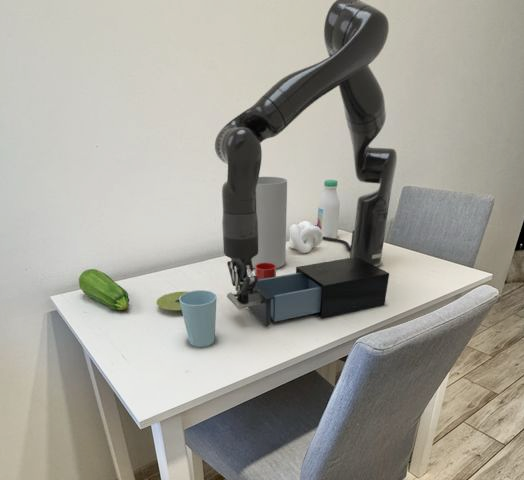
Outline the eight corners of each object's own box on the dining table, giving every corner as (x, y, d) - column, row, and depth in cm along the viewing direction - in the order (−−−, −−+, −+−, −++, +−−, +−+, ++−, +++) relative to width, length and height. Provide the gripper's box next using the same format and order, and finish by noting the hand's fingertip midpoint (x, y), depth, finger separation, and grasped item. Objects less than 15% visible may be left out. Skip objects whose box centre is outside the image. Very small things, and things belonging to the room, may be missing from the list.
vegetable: (89, 260, 113) (127, 281, 101) (105, 279, 118) (143, 301, 106) (68, 278, 111) (104, 302, 98) (85, 297, 116) (122, 321, 104)
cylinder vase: (261, 254, 142) (260, 175, 129) (292, 262, 136) (295, 179, 123) (238, 265, 133) (234, 181, 120) (270, 273, 127) (270, 185, 114)
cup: (177, 339, 93) (172, 296, 87) (206, 329, 97) (203, 287, 92) (196, 353, 88) (191, 308, 83) (226, 341, 92) (223, 298, 87)
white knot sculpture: (310, 257, 139) (311, 230, 134) (278, 251, 144) (279, 225, 140) (325, 248, 147) (327, 222, 142) (295, 243, 153) (295, 218, 148)
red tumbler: (252, 292, 115) (251, 264, 111) (270, 289, 117) (270, 261, 113) (260, 300, 111) (260, 271, 107) (278, 296, 113) (279, 267, 108)
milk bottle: (339, 235, 161) (344, 179, 150) (333, 241, 155) (338, 183, 144) (320, 233, 163) (323, 178, 153) (313, 238, 157) (317, 181, 147)
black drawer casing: (321, 319, 101) (323, 285, 97) (294, 297, 112) (296, 266, 107) (384, 305, 108) (389, 273, 103) (353, 286, 118) (357, 256, 114)
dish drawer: (242, 331, 94) (241, 303, 91) (224, 309, 104) (222, 283, 100) (331, 312, 102) (334, 286, 99) (306, 293, 112) (308, 269, 108)
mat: (153, 302, 110) (152, 295, 109) (195, 295, 114) (194, 288, 113) (162, 320, 101) (161, 313, 100) (207, 311, 105) (207, 304, 104)
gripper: (269, 238, 86) (269, 315, 94) (245, 223, 96) (247, 293, 105) (235, 243, 83) (238, 321, 92) (213, 227, 93) (218, 298, 102)
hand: (243, 306), depth 98 cm, fingers closed
